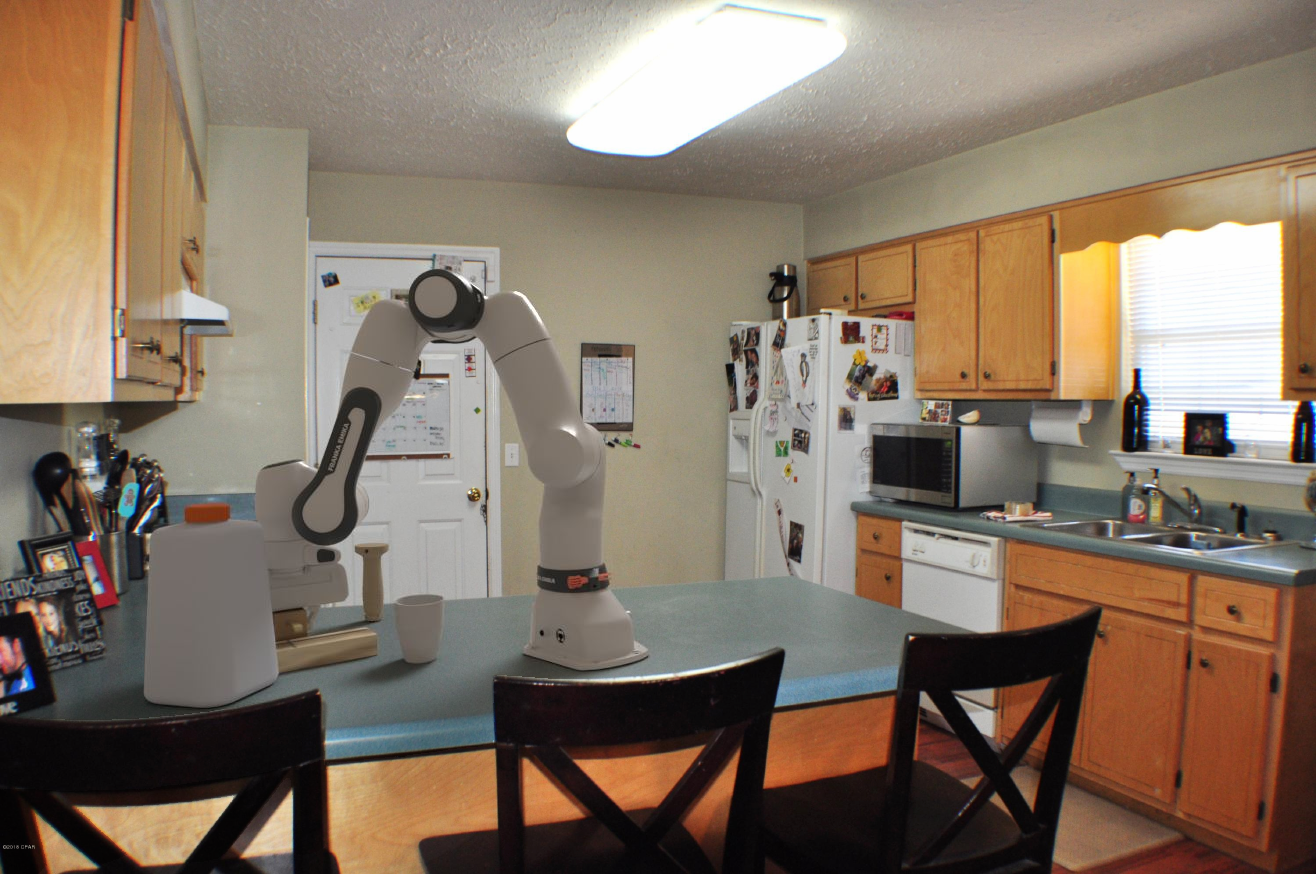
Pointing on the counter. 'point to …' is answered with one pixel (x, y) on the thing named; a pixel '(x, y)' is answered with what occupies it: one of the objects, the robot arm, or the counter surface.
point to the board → (325, 649)
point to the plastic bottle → (208, 611)
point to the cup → (420, 626)
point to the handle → (372, 579)
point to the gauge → (290, 624)
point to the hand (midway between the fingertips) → (287, 634)
